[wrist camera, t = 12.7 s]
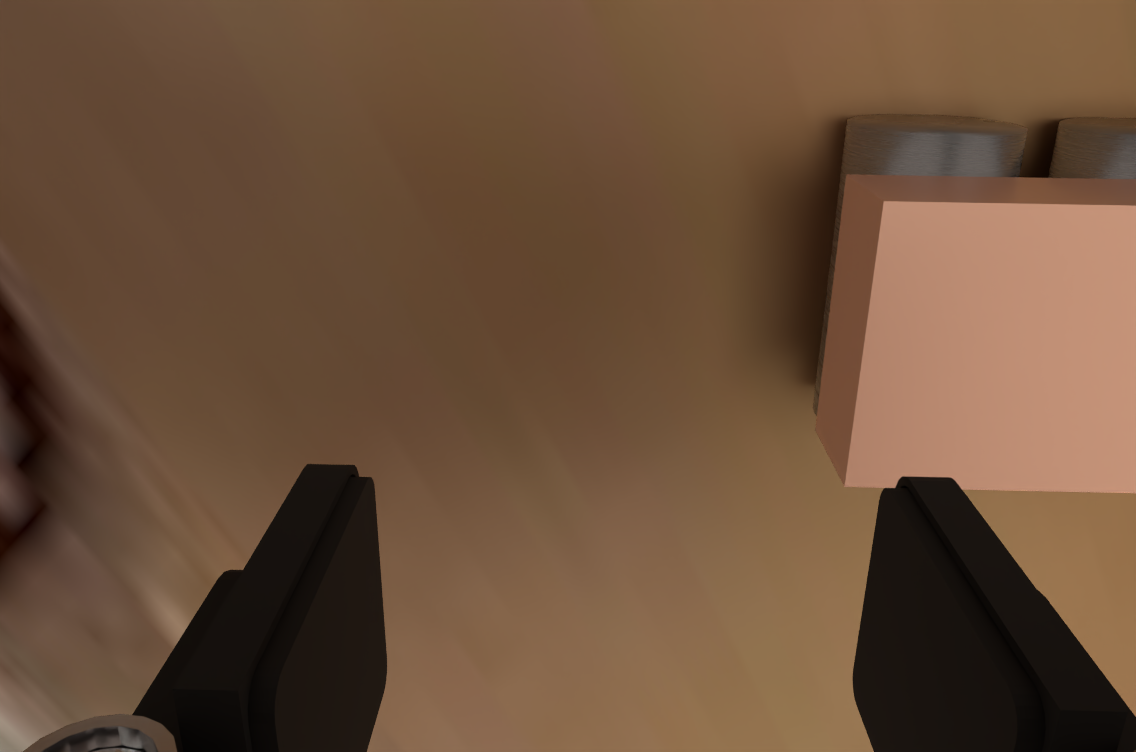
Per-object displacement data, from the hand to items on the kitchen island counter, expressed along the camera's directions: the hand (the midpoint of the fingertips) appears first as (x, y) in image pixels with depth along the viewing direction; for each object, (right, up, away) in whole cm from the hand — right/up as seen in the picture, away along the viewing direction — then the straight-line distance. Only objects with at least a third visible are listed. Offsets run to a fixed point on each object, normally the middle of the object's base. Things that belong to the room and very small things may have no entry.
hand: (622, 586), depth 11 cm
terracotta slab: (+10, +4, +10) cm, 15 cm away
